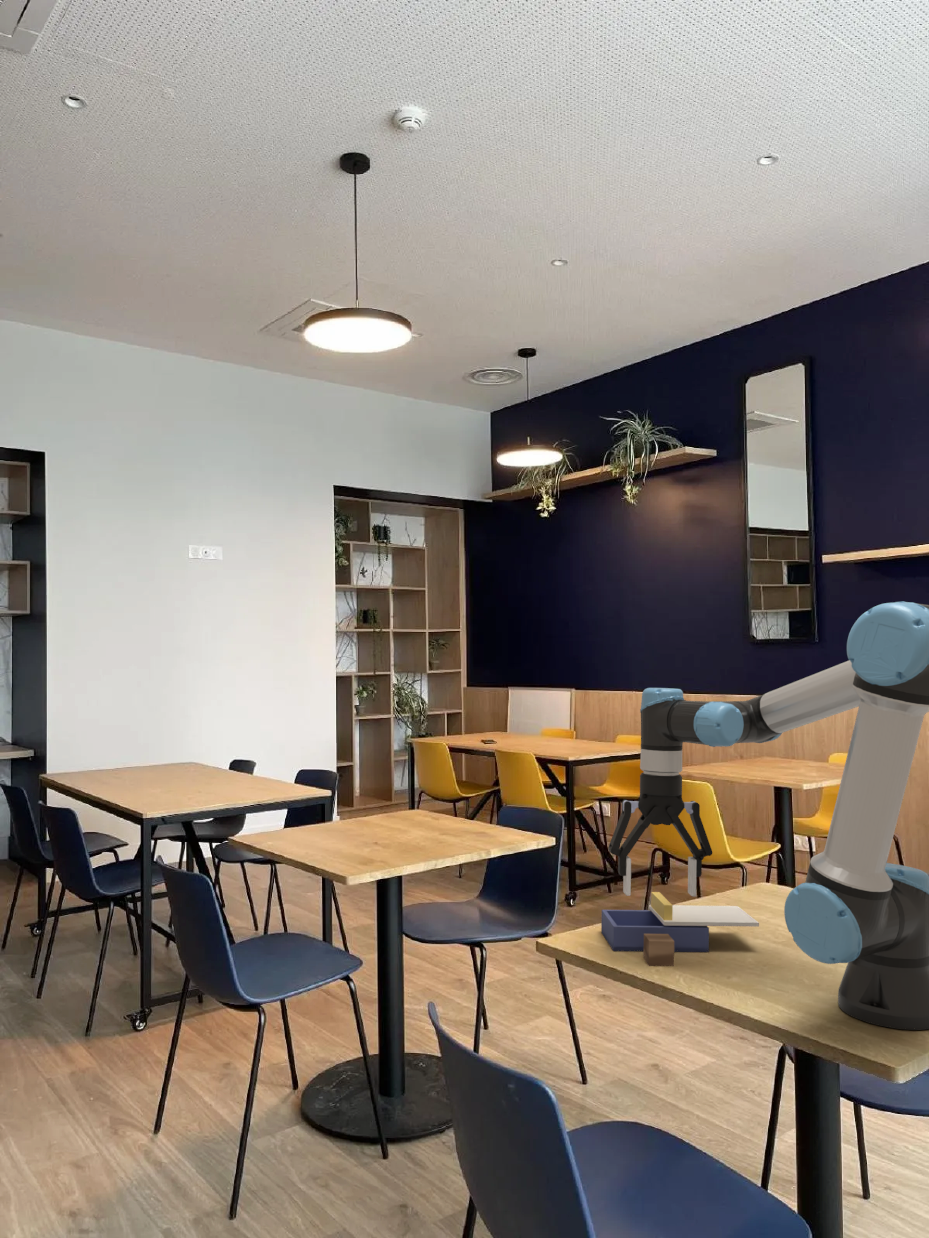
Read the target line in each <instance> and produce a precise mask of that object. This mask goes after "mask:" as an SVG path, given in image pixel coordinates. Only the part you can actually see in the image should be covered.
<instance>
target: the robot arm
mask: <svg viewBox="0 0 929 1238" xmlns="http://www.w3.org/2000/svg"><path fill="white" fill-rule="evenodd" d="M846 655H847V659H848V660H847V661H844V662H842V663H838V664H836V665H834V666H832V667H829V668H827V669H826V668H825V669H824V670H821V671H819V672H816V673H814V674H811V675H809V676H806V677H804V678H800V679H799V680H796V681H793V682H791V683H788V684H786V685H783V686H780V687H779V688H776V689H773V690H770V691H768V692H766V693H764V694H762V695H758V696H756V697H753V698H750V699H747V700H734V701H733V700H732V701H730V700H729V701H727V700H726V701H722V700H720V701H717V700H716V701H710V700H709V701H708V700H707V701H704V700H701V701H700V700H686V699H685V698H684V691H683V690H682V689H681V688H668V687H647V688H644V690H643V691H642V694H641V700H640V701H641V703H640V704H641V705H640V709H639V710H640V711H639V713H640V761H639V762H640V764H639V768H640V770H641V771H643V772H641V773H640V774H639V798H638V800H634V801H633V800H627V799H623V800H622V802H621V813H620V817H619V819H618V821H617V823H616V826H615V829H614V832H613V835H612V836H611V840H610V842H609V844H608V848H607V850H608V852H609V853H611V854H612V855H614V856H617V871H618V874H619V876H622V877H623V878H622V879H623V881H622V882H623V887H622V888H623V889H622V892H623V893H624V895H625V896H626V897H627V896H631V889H632V888H631V887H632V886H631V885H632V884H631V882H632V879H631V878H632V858H630V856H629V854H630V853H631V852H632V849H633V848H634V847H635V845H636V844H637V842H638V841H639V839H640V838H641V836H642V835H643V834H644V832H645V831H646V829H648V828H649V826H650V825H652V826H659V825H664V826H670V825H672V826H673V827H674V828H675V829H676V832H677V833H678V834H679V836H680V838H681V839H682V842H684V843H685V845H686V847H687V848H688V850H689V852H690V853H691V855H692V856H687V893H688V894H689V896H691V897H697V878H701V877H702V873H703V872H702V871H703V870H702V867H703V865H702V863H703V860H704V859H705V857H710V856H712V855H713V849H712V847H711V844H710V841H709V839H708V836H707V833H706V830H705V827H704V824H703V821H702V818H701V814H700V811H701V809H700V808H701V806H700V803H698V802H697V801H695V800H690V801H684V800H683V776H682V774H680V773H681V772H682V771H683V746H684V745H683V744H684V743H689V744H695V745H696V744H697V745H704V746H708V747H712V748H715V747H721V748H722V747H725V748H726V747H731V746H734V745H735V744H744V743H745V744H747V743H749V744H750V743H757V744H763V743H767V742H772V741H775V740H777V739H778V738H780V737H781V735H782V734H783V733H785V732H788V731H792V730H794V729H797V728H800V727H803V726H806V725H809V724H811V723H814V722H817V721H820V720H821V721H822V720H823V719H827V718H829V717H832V716H835V715H838V714H841V713H844V712H846V711H850V710H853V709H855V708H858V709H857V714H856V719H855V720H854V721H855V723H854V726H853V730H852V734H851V737H850V738H851V739H850V742H849V747H848V751H847V755H846V760H845V764H844V767H843V772H842V775H841V779H840V780H841V781H840V784H839V789H838V791H837V797H836V801H835V804H834V808H833V813H832V817H831V820H830V826H829V829H828V834H827V838H826V842H825V845H824V849H823V851H822V852H819V853H817V854H815V855H814V856H812V857H811V858H810V861H809V865H808V869H807V873H806V878H805V880H804V881H805V882H802V883H800V884H798V885H797V886H795V887H794V888H793V889H792V890H791V891H790V892H789V893H788V895H787V896H786V899H785V903H784V911H783V913H784V920H785V924H786V927H787V931H788V933H790V934H791V935H792V940H793V941H794V943H795V944H796V946H797V947H798V948H799V949H800V950H801V951H802V952H803V953H804V954H806V955H807V956H808V957H810V958H811V959H813V960H815V961H817V962H819V963H823V964H827V965H834V964H835V965H836V964H847V965H846V968H845V970H844V973H843V975H842V978H841V981H840V984H839V988H838V990H837V992H838V993H837V994H838V995H837V1003H838V1007H839V1008H840V1010H842V1012H844V1013H845V1014H847V1015H848V1016H850V1017H853V1018H855V1019H857V1020H859V1021H863V1022H865V1023H868V1024H872V1025H876V1026H881V1027H883V1028H884V1027H886V1028H891V1029H897V1030H906V1031H907V1030H909V1031H917V1030H918V1031H920V1030H929V874H928V873H927V872H925V871H923V870H921V869H919V868H915V867H912V866H911V867H910V866H908V865H907V866H906V865H902V864H895V863H891V862H888V859H889V856H890V851H891V846H892V843H893V840H894V839H893V838H894V836H895V831H896V827H897V823H898V820H899V816H900V810H901V807H902V804H903V800H904V796H905V793H906V787H907V784H908V780H909V777H910V772H911V768H912V764H913V760H914V757H915V753H916V750H917V749H916V748H917V745H918V741H919V737H920V733H921V729H922V725H923V721H924V719H925V716H926V714H927V713H929V604H923V603H916V602H908V601H895V602H886V603H881V604H878V605H876V606H873V607H871V608H870V609H868V610H867V611H865V612H864V613H862V614H861V615H860V616H859V617H858V618H857V620H855V622H854V624H853V625H852V627H851V629H850V631H849V633H848V637H847V641H846ZM637 808H638V810H639V811H640V813H641V815H640V817H639V819H638V820H637V822H636V824H635V826H634V827H632V828H633V829H632V830H631V831H630V832H629V834H628V835H627V837H626V839H625V840H624V842H623V843H622V840H623V838H624V835H625V834H626V831H627V828H628V824H629V822H630V820H631V816H632V814H634V813H635V812H636V809H637ZM684 809H685V812H686V813H687V814H688V815H689V818H690V820H691V823H692V826H693V829H694V832H695V835H696V837H697V840H698V844H699V846H700V848H699V847H698V846H697V844H696V843H695V841H694V839H693V838H692V836H691V835H690V833H689V832H688V830H687V829H686V827H685V825H684V824H683V822H682V819H680V817H679V816H680V815H681V813H682V812H683V811H684ZM621 843H622V844H621ZM620 845H621V846H620Z"/></svg>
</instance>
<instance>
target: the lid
mask: <svg viewBox="0 0 929 1238" xmlns="http://www.w3.org/2000/svg"><path fill="white" fill-rule="evenodd" d="M650 900H651V901H650V902H651V904H649V905H648V910H651V911H652V912H653V914H654V915H655V916H656V917H657V918H658V919H659V920H660V921H661V922H662V924H663V925H667V926H707V927H755V928H756V927H759V926H760V922H759V921H757V920H756V919H755V918H754V917H752V916H751V915H750V914H749V913H747V912H746V911H745V910H743V909H742V908H741V907H739V906H738V905H693V904H692V905H690V904H689V905H688V904H687V905H684V904H683V905H679V904H678V905H677V904H676V905H675V904H672V903H671V902H670V901H669V900H668V899H667V898H666V897H665V896H664V894H662V893H661V892H660V891H651V899H650Z"/></svg>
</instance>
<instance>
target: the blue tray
mask: <svg viewBox="0 0 929 1238" xmlns="http://www.w3.org/2000/svg"><path fill="white" fill-rule="evenodd" d="M600 923H601V928H600V932H601V934H602V936H603V937H604V939H605V940H606V942H607V944H608V946H609V947H610V948H611V950H612V951H613V952H643V950H644V934H669V936H670V937H671V938H672V939H673V940H674V953H709V951H710V950H709V948H710V946H709V945H710V943H709V942H710V940H709V939H710V926H667V925H663V924H662V922H661V921H660V920H659V919H658V918H657V917H656V916H655V915H654V914H653V912H652V911H651V910H650V909H601V922H600Z"/></svg>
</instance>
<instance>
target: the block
mask: <svg viewBox="0 0 929 1238" xmlns="http://www.w3.org/2000/svg"><path fill="white" fill-rule="evenodd" d="M642 956H643V957H642V958H643V959H644V961H645V963H646V964H647V966H648V967H675V952H674V940H673V939H672V938H671V937H670V936H669V934H644V950H643V955H642Z"/></svg>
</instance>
